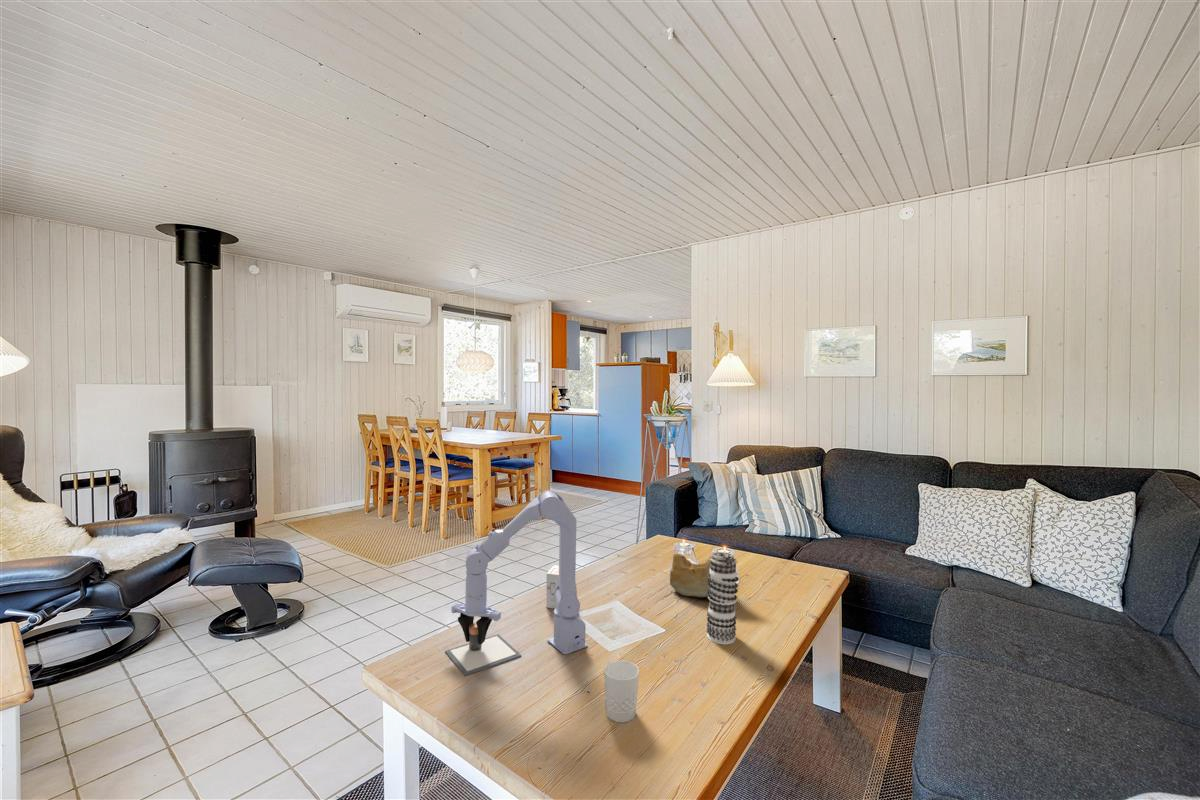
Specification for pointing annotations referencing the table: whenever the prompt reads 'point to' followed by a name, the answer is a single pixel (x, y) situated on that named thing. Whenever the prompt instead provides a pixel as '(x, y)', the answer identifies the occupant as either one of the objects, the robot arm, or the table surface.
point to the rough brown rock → (689, 577)
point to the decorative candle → (722, 598)
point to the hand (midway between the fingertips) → (475, 641)
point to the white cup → (621, 690)
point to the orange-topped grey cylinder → (473, 637)
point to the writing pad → (482, 655)
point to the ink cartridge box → (552, 586)
